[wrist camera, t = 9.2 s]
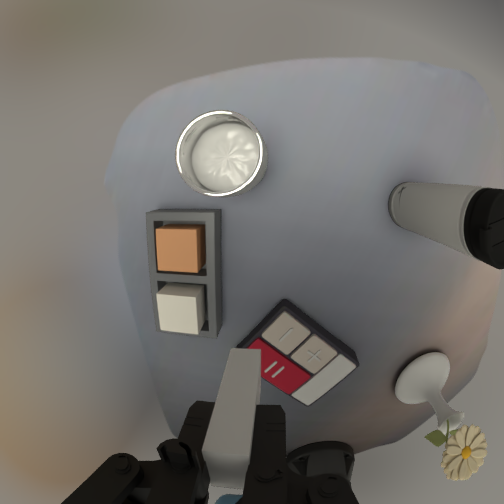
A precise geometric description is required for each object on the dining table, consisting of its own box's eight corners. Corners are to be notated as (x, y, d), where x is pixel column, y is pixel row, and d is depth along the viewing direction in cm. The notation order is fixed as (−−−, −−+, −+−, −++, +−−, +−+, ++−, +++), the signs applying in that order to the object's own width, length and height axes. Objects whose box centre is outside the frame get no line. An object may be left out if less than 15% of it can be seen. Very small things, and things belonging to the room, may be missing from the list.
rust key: (205, 263, 35) (197, 272, 32) (169, 261, 36) (158, 270, 32) (205, 224, 34) (196, 229, 30) (168, 223, 35) (155, 228, 31)
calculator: (284, 307, 34) (362, 367, 34) (284, 294, 38) (356, 352, 39) (231, 360, 36) (308, 410, 37) (236, 344, 41) (307, 393, 41)
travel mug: (380, 187, 32) (480, 198, 13) (420, 178, 31) (527, 184, 12) (390, 233, 34) (484, 284, 14) (428, 222, 33) (530, 259, 13)
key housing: (222, 324, 39) (216, 338, 35) (166, 318, 39) (156, 331, 36) (221, 209, 35) (214, 212, 31) (158, 209, 35) (146, 212, 32)
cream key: (205, 319, 36) (198, 334, 32) (170, 316, 37) (160, 330, 33) (204, 285, 35) (195, 297, 31) (167, 282, 35) (156, 293, 31)
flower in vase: (455, 355, 37) (523, 443, 13) (419, 400, 40) (465, 495, 16) (411, 337, 37) (488, 449, 13) (373, 389, 40) (414, 507, 16)
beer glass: (210, 144, 33) (166, 119, 18) (265, 134, 32) (257, 99, 18) (219, 197, 35) (180, 207, 20) (274, 188, 34) (273, 191, 19)
